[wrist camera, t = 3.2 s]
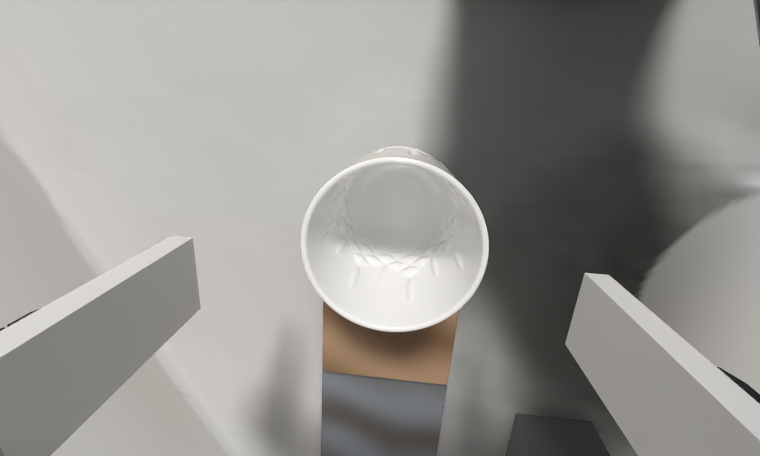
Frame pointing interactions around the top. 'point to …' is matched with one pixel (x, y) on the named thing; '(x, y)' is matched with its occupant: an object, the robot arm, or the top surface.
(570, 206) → the top surface
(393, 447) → the board
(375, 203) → the white cup
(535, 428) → the die
